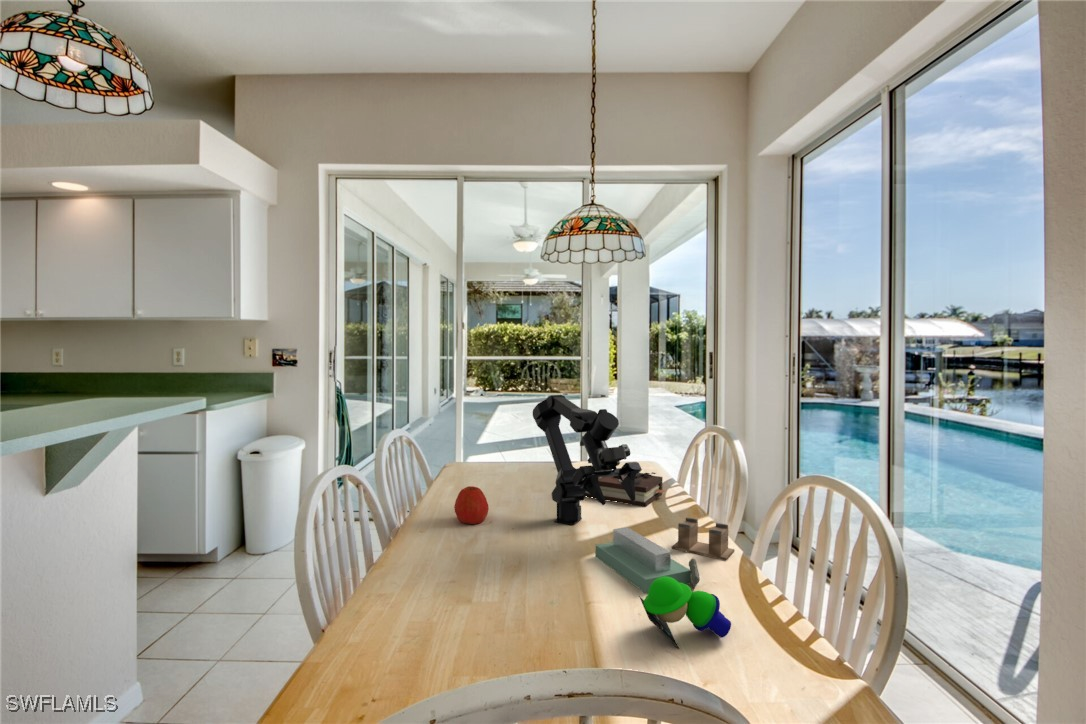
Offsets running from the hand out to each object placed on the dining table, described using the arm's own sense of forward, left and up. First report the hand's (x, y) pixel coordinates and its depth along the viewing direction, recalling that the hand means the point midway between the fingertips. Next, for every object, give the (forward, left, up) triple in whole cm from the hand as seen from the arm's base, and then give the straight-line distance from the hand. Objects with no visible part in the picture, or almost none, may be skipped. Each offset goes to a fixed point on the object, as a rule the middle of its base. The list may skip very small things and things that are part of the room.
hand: (619, 502), depth 140 cm
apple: (-48, +4, -13) cm, 50 cm away
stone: (+20, -8, -13) cm, 25 cm away
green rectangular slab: (+8, -8, -13) cm, 17 cm away
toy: (+24, -32, -13) cm, 42 cm away
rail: (+8, -8, -10) cm, 15 cm away
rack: (+19, +11, -13) cm, 26 cm away
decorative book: (-17, +50, -14) cm, 55 cm away
